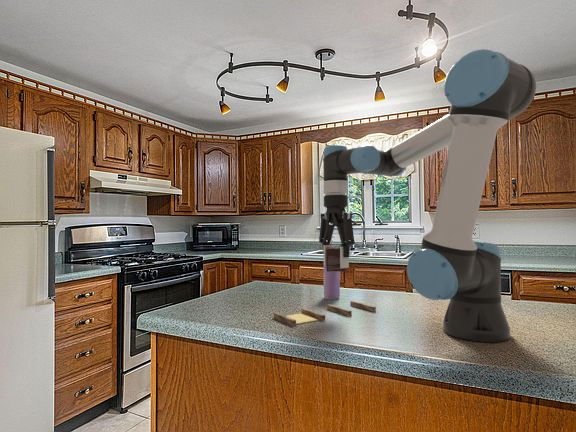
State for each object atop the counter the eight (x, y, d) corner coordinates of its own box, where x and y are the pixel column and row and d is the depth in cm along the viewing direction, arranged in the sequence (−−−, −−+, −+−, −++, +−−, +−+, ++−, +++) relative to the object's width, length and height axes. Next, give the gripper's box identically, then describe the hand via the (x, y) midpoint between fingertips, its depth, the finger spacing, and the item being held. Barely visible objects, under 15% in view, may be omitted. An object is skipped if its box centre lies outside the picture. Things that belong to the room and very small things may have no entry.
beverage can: (340, 299, 136) (340, 258, 136) (324, 299, 136) (324, 259, 136) (338, 296, 142) (338, 257, 142) (323, 296, 142) (322, 257, 142)
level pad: (318, 320, 107) (318, 319, 107) (296, 324, 103) (296, 323, 103) (301, 314, 114) (301, 313, 114) (280, 317, 110) (280, 316, 110)
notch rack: (375, 311, 117) (375, 306, 117) (293, 326, 101) (292, 320, 101) (352, 305, 126) (352, 300, 126) (273, 317, 110) (273, 312, 110)
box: (345, 269, 119) (345, 246, 119) (346, 272, 113) (345, 248, 113) (326, 269, 120) (326, 246, 120) (326, 271, 114) (326, 248, 114)
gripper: (366, 192, 110) (367, 269, 109) (326, 197, 128) (326, 262, 128) (346, 192, 106) (347, 271, 106) (307, 196, 124) (308, 263, 124)
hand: (335, 266), depth 117 cm, fingers closed on box, 8 cm apart
